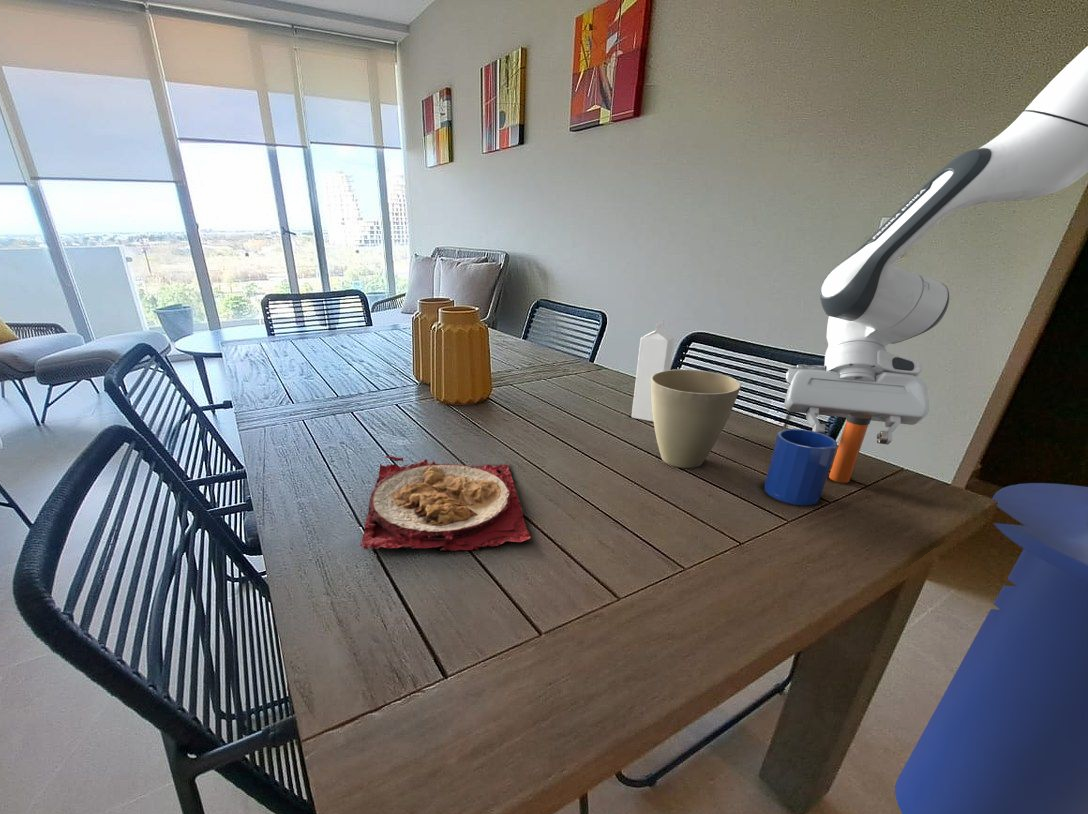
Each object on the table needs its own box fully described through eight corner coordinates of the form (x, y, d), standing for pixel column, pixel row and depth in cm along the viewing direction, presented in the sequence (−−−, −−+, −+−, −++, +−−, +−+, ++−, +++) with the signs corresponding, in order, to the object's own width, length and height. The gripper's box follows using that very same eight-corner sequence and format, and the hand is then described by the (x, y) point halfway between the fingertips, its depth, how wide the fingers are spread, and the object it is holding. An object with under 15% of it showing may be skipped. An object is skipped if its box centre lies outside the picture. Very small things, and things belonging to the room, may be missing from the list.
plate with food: (360, 559, 66) (357, 538, 64) (381, 470, 89) (379, 454, 87) (531, 549, 68) (532, 529, 66) (508, 465, 91) (508, 449, 89)
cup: (808, 483, 83) (824, 430, 79) (827, 507, 76) (846, 450, 71) (757, 480, 84) (771, 427, 80) (772, 503, 77) (788, 446, 73)
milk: (663, 415, 115) (678, 321, 106) (656, 422, 110) (671, 325, 101) (638, 410, 118) (650, 319, 109) (630, 417, 113) (642, 323, 104)
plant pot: (634, 443, 99) (643, 368, 93) (707, 445, 98) (722, 369, 91) (650, 477, 86) (662, 392, 79) (735, 479, 84) (755, 393, 78)
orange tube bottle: (844, 475, 85) (865, 412, 80) (853, 483, 82) (875, 419, 78) (824, 474, 86) (844, 411, 81) (832, 482, 83) (853, 417, 78)
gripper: (792, 354, 87) (785, 422, 83) (933, 364, 79) (934, 440, 75) (783, 372, 92) (776, 437, 88) (914, 383, 85) (914, 454, 81)
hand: (850, 438), depth 82 cm, fingers open, 8 cm apart
